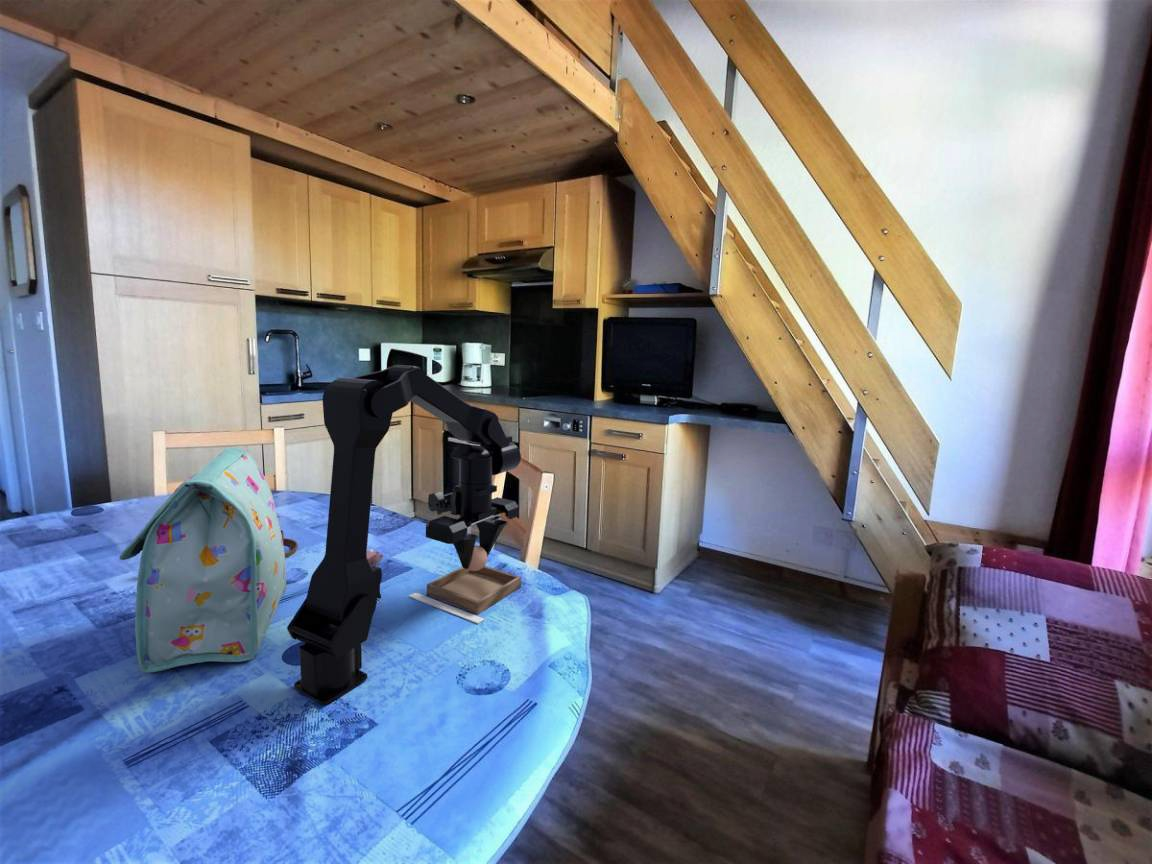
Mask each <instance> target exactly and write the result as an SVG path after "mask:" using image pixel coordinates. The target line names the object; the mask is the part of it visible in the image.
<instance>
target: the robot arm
mask: <svg viewBox="0 0 1152 864" xmlns="http://www.w3.org/2000/svg"><path fill="white" fill-rule="evenodd" d="M409 403H413V404H414V405H416V406H418V407H419V408H421V409H423V410H425V411H426V412H427V413H429V414H431V415H433V416H434V417H436V418H438V419H439V420H441V421H442V422H443V423H444V424H445V425H446V428H447V431H448V432H449V433H450V434H452V436H453V437H455V439H456V440H458V441H461V442H466V443H467V444H464V443H460V444H459V445H458V447H456V449H455V450H453V452H452V453H451V455H450V457H451V458H452V459H456V460H457V459H458V460H459V463H458V465H459V475H458V476H459V480H458V484H457V485H454V486H453V488H452V492H450V493H447V494H444V493H443V492H442V491H437V492H433V493H430V494H428V498H427V505H428V509H429V511H430V512H436V514H437V515H438V516H440V515H442V514H444V513H447V512H450V515H453V516H459V518H454V517H450V516H447V515H442V516H440V517H437V518H434V519H431V520H428V522H427V523H426V524H425V538H427V539H430V540H431V539H432V540H434V541H436V542H437V541H438V542H440V543H444V544H447V545H453V546H454V549H455V550H456V554H457V557H458V559H459V562H460V564H461V567H463V568H465V569H468V568H469V565H470V562H471V559H472V554H473V550H474V546H475V545H476V541H477V537H478V536H479V539H478V540H479V546H480V547H482V548H483V549H484V550H485V551H486V553H487V558H488V557H489V556H490V553H491V551H492V549H493V548H494V546H495V543H496V542H497V540H498V538H499V537H500V534H501V533H502V531H503V529H504V527H506V526H508V521H507V520H502V516H501V515H502V514H504V515H505V517H506V519H508V520H512V519H514V518H515V519H516V518H518V517H519V510H520V507H519V505H518V503H517V502H516V501H515V500H510V499H507V498H502V497H497V496H496V497H494V498H493V493H495V492H497V490H498V486H497V485H495V484H493V476H497V475H499V474H503V473H506V472H509V471H511V470H514V469H516V468H517V467H518V466H519V465H520V462H521V459H522V454H521V452H520V449H519V447H518V446H517V445H516V444H515V443H514V442H513V436H512V435H506V433H505V432H504V429H503V427H502V425H501V423H500V421H499V420H500V419H499V416H498V414H496V413H495V412H494V411H492V410H489V409H487V408H484V407H479V406H477V405H473V404H470V403H467V402H466V401H464V400H463V399H461V398H460V397H459V396H457V394H454V393H453V392H451V391H450V390H449V389H447V388H446V387H445V386H443V385H442V384H440V383H439V382H437V381H436V380H435V379H433V378H432V377H431V376H430V375H428V374H427V373H426V372H425V370H424V369H422V368H420V367H419V366H416V365H405V364H404V365H402V364H394V365H392V366H389V367H386V368H385V369H382V370H378V371H374V372H370V373H367V374H366V373H365V374H362V375H357V376H355V377H352V378H351V377H338V378H336V379H334V380H332V382H330V383H329V384H328V385H326V386H325V388H324V390H323V394H322V411H323V423H324V426H325V429H326V431H327V433H328V435H329V437H330V440H331V443H332V445H333V456H332V457H333V458H332V467H331V468H332V471H331V482H330V494H329V505H328V518H327V526H326V527H327V529H326V539H325V540H326V541H325V542H326V543H325V553H324V557H323V559H322V560H321V561H320V563H319V564H318V566H317V567H316V568H315V570H314V571H313V573H312V574H311V577H310V582H309V586H308V590H307V594H306V598H305V599H304V601H303V602H302V604H301V605H300V606H299V608H298V609H297V611H296V613H295V614H294V615H293V617H292V619H291V620H290V622H289V623H288V625H287V626H286V629H287V632H288V634H289V635H290V637H291V639H292V640H296V641H299V642H301V643H303V644H302V645H300V646H299V650H298V651H299V662H300V663H299V666H300V679H299V680H297V681H295V682H294V683H293V688H294V689H295V690H297V691H299V692H300V693H302V694H303V695H305V696H306V697H308V698H309V699H312V700H313V701H314V702H316V703H317V704H319V705H320V706H326V705H327V704H330V703H331V702H334V700H336V699H338V698H339V697H341V696H342V695H344V694H346V693H348V692H349V691H350V690H353V689H354V688H356V686H358V685H360V684H362V683H363V682H365V681H366V680H367V679H368V673H366V672H364V671H362V670H361V669H362V668H363V660H362V658H363V654H362V653H363V652H362V651H363V650H362V645H363V644H364V643H365V642H366V641H367V640H368V637H369V634H370V631H371V630H370V629H371V626H372V622H373V619H374V614H375V611H376V610H377V604H378V599H379V600H380V599H382V595H381V583H382V577H383V572H382V568H381V567H378V566H376V567H375V566H372V565H370V564H369V561H368V559H367V551H368V539H369V529H370V516H371V507H372V505H371V504H372V495H373V484H374V483H373V482H374V471H375V459H376V451H377V447H378V446H379V445H380V444H381V442H382V441H383V440H384V437H386V435H387V433H388V432H389V430H390V428H391V427H390V426H391V422H392V418H393V413H395V412H398V411H400V410H401V409H404V408H405V407H407V406H408V405H409ZM470 444H472V445H470ZM473 525H476V526H477V529H478V536H477V534H473V533H472V527H473Z"/></svg>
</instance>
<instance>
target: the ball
mask: <svg viewBox="0 0 1152 864" xmlns="http://www.w3.org/2000/svg"><path fill="white" fill-rule="evenodd" d="M487 562H488V557H487V553H486V551H485V550H484V549H483V548H482V547H480V545H476V544H475V546H474V550H473V554H472V559H471V562H470V565H469V568H468V570H471V571H478V570H480V569H482V568H483V567H484V566H486V564H487Z"/></svg>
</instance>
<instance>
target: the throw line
mask: <svg viewBox="0 0 1152 864" xmlns="http://www.w3.org/2000/svg"><path fill="white" fill-rule="evenodd" d="M408 597H409V598H411V599H413V600H416V601H418V602H421V603H424V604H426V605H429V606H432V607H435V608H437V609H438V610H439V609H440V610H441V611H445V612H446V613H450V614H452V615H454V616H457V617H459V618H462V619H465V620H468V621H469V622H472V623H474V624H477V625H479V624H481V623H483V622H484V621H485V618H483V617H482V616H478V615H477V614H474V613H471V612H469V611H468V612H467V611H466V610H464V609H460V608H458V607H456V606H455V607H454V606H452V605H451V604H450V605H449V604H448V603H444V602H443V601H442V602H441V601H440V600H439V601H438V599H435V598H432V597H430V596H427V595H423V594H422V593H418V592H414V593H412V594H410V595H409V596H408Z"/></svg>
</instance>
